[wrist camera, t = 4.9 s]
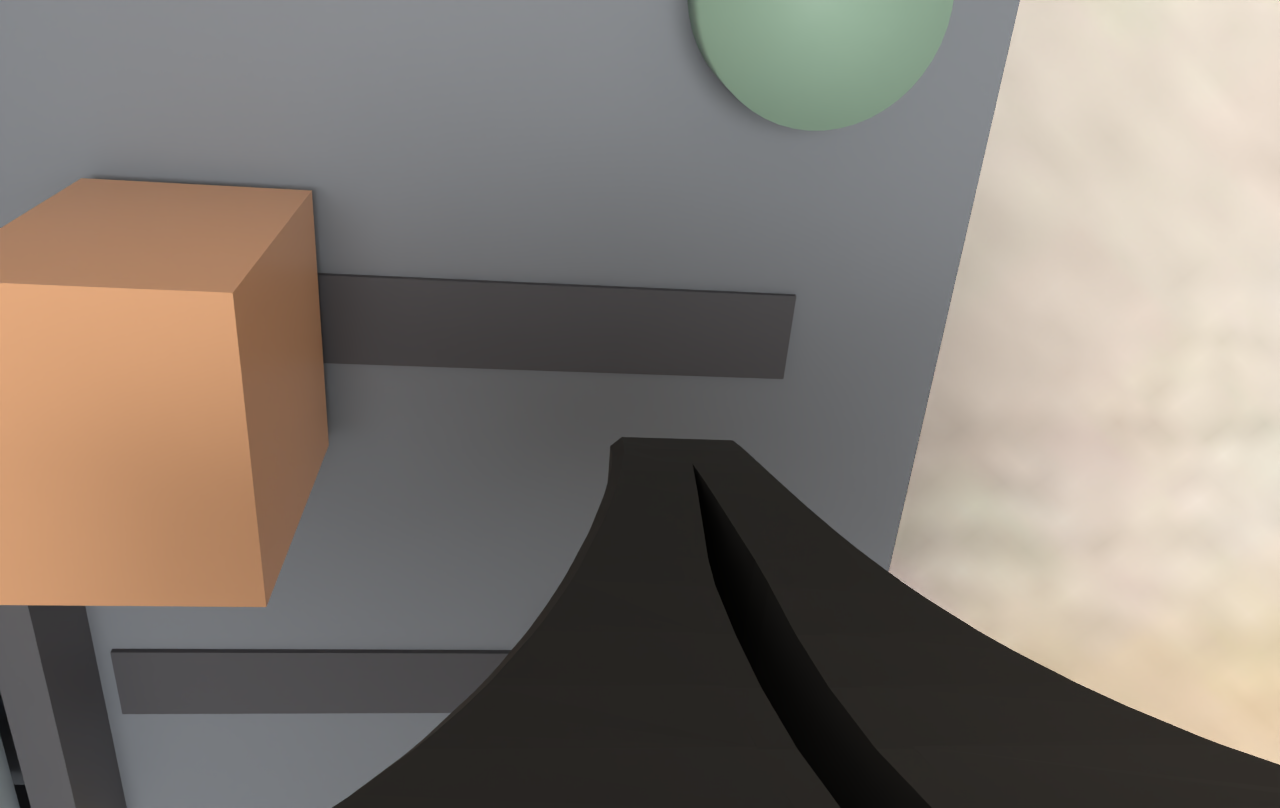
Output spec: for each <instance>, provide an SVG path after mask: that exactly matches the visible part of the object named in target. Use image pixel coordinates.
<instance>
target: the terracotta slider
mask: <svg viewBox="0 0 1280 808" xmlns="http://www.w3.org/2000/svg"><path fill="white" fill-rule="evenodd" d="M328 446H329V440H328V425H327V410H326V395H325V380H324V365H323V350H322V335H321V320H320V305H319V290H318V275H317V260H316V245H315V230H314V215H313V200H312V190H293V189H275V188H256V187H237V186H219V185H200V184H181V183H163V182H144V181H125V180H107V179H88V178H81V179H79V180H78V181H76V182H74V183H73V184H71V185H70V186H68V187H66V188H65V189H63V190H61V191H60V192H58V193H57V194H55V195H53V196H52V197H50V198H49V199H47V200H45V201H44V202H42V203H40V204H39V205H37V206H36V207H34V208H32V209H31V210H29V211H27V212H26V213H24V214H23V215H21V216H19V217H18V218H16V219H15V220H13V221H11V222H10V223H8V224H6V225H5V226H3V227H2V228H0V605H63V606H186V607H267V604H268V602H269V599H270V596H271V594H272V591H273V589H274V586H275V583H276V581H277V578H278V576H279V573H280V570H281V568H282V565H283V563H284V560H285V557H286V555H287V552H288V550H289V547H290V544H291V542H292V539H293V537H294V534H295V531H296V529H297V526H298V524H299V521H300V519H301V516H302V513H303V511H304V508H305V506H306V503H307V500H308V498H309V495H310V493H311V490H312V487H313V485H314V482H315V480H316V477H317V474H318V472H319V469H320V467H321V464H322V461H323V459H324V456H325V454H326V451H327V448H328Z"/></svg>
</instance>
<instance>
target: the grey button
mask: <svg viewBox="0 0 1280 808" xmlns="http://www.w3.org/2000/svg"><path fill="white" fill-rule="evenodd" d="M0 808H20V806H19V802H18V799H17V795H16V791H15V788H14V784H13V780H12V777H11V773H10V769H9V765H8V762H7V758H6V754H5V751H4V747H3V743H2V740H1V736H0Z"/></svg>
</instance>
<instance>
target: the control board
mask: <svg viewBox="0 0 1280 808" xmlns="http://www.w3.org/2000/svg"><path fill="white" fill-rule="evenodd" d="M1019 2H1020V0H0V228H2V227H3V226H5V225H6V224H8V223H10V222H11V221H13V220H15V219H16V218H18V217H19V216H21V215H23V214H24V213H26V212H27V211H29V210H31V209H32V208H34V207H36V206H37V205H39V204H40V203H42V202H44V201H45V200H47V199H49V198H50V197H52V196H53V195H55V194H57V193H58V192H60V191H61V190H63V189H65V188H66V187H68V186H70V185H71V184H73V183H74V182H76V181H78V180H79V179H81V178H88V179H107V180H125V181H144V182H163V183H181V184H200V185H219V186H237V187H256V188H275V189H293V190H312V200H313V215H314V230H315V245H316V260H317V275H318V290H319V305H320V320H321V335H322V350H323V365H324V380H325V395H326V410H327V425H328V440H329V446H328V448H327V451H326V454H325V456H324V459H323V461H322V464H321V467H320V469H319V472H318V474H317V477H316V480H315V482H314V485H313V487H312V490H311V493H310V495H309V498H308V500H307V503H306V506H305V508H304V511H303V513H302V516H301V519H300V521H299V524H298V526H297V529H296V531H295V534H294V537H293V539H292V542H291V544H290V547H289V550H288V552H287V555H286V557H285V560H284V563H283V565H282V568H281V570H280V573H279V576H278V578H277V581H276V583H275V586H274V589H273V591H272V594H271V596H270V599H269V602H268V604H267V607H186V606H63V605H0V736H1V740H2V743H3V747H4V751H5V754H6V758H7V762H8V765H9V769H10V773H11V777H12V780H13V784H14V788H15V791H16V795H17V799H18V802H19V806H20V808H332V807H334V806H335V805H337V804H338V803H340V802H341V801H343V800H344V799H346V798H347V797H349V796H350V795H351V794H353V793H354V792H355V791H357V790H358V789H359V788H361V787H362V786H363V785H365V784H366V783H367V782H369V781H370V780H371V779H373V778H374V777H375V776H377V775H378V774H379V773H381V772H382V771H383V770H385V769H386V768H387V767H389V766H390V765H391V764H393V763H394V762H395V761H397V760H398V759H399V758H401V757H402V756H403V755H405V754H406V753H407V752H408V751H410V750H411V749H412V748H413V747H414V746H416V745H417V744H418V743H419V742H420V741H422V740H423V739H424V738H425V737H426V736H427V735H428V734H429V733H430V732H431V731H432V730H433V729H435V728H436V727H437V726H438V725H439V724H440V723H441V722H442V721H443V720H444V719H445V718H446V717H447V716H448V715H450V714H451V713H452V712H453V711H454V710H455V709H456V708H457V707H458V706H459V705H460V704H461V703H462V702H463V701H465V700H466V699H467V698H468V697H469V696H470V695H471V694H472V693H473V692H474V691H475V690H476V689H477V688H478V687H479V686H480V685H481V684H482V683H483V682H484V681H485V680H486V679H487V678H488V677H489V676H490V674H491V673H492V672H493V671H494V670H495V669H496V668H497V667H498V666H499V665H500V663H501V662H502V661H503V660H504V659H505V657H506V656H507V655H508V654H509V653H510V651H511V650H512V649H513V648H514V647H515V645H516V644H517V643H518V642H519V641H520V639H521V638H522V637H523V636H524V635H525V633H526V632H527V631H528V630H529V628H530V627H531V626H532V624H533V623H534V621H535V620H536V619H537V617H538V616H539V615H540V613H541V612H542V610H543V609H544V608H545V606H546V605H547V603H548V602H549V600H550V599H551V597H552V596H553V594H554V593H555V591H556V590H557V588H558V587H559V585H560V583H561V582H562V580H563V579H564V577H565V575H566V574H567V572H568V570H569V568H570V566H571V564H572V563H573V561H574V559H575V557H576V555H577V553H578V551H579V550H580V548H581V546H582V544H583V542H584V540H585V538H586V537H587V535H588V532H589V530H590V528H591V526H592V523H593V521H594V518H595V516H596V513H597V511H598V509H599V506H600V504H601V501H602V499H603V496H604V493H605V490H606V486H607V483H608V470H609V456H610V446H611V445H612V444H614V443H615V442H616V441H617V440H618V439H620V438H621V437H640V438H674V439H709V440H733V441H734V442H736V443H737V444H738V445H739V446H741V447H742V448H743V449H744V450H745V451H746V452H748V453H749V454H750V455H751V456H752V457H753V458H754V459H755V460H756V461H757V462H759V463H760V464H761V465H762V466H763V467H764V468H765V469H766V470H767V471H768V472H769V473H770V474H772V475H773V476H774V477H775V478H776V479H777V480H778V481H779V482H780V483H781V484H783V485H784V486H785V487H786V488H787V489H788V490H789V491H790V492H791V493H792V494H794V495H795V496H796V497H797V498H798V499H799V500H800V501H801V502H802V503H804V504H805V505H806V506H807V507H808V508H809V509H810V510H812V511H813V512H814V513H815V514H816V515H817V516H819V517H820V518H821V519H822V520H823V521H824V522H826V523H827V524H828V525H829V526H830V527H831V528H833V529H834V530H835V531H836V532H837V533H839V534H840V535H841V536H842V537H844V538H845V539H846V540H847V541H849V542H850V543H851V544H852V545H854V546H855V547H856V548H857V549H859V550H860V551H861V552H863V553H864V554H865V555H867V556H868V557H869V558H871V559H872V560H873V561H875V562H876V563H877V564H879V565H880V566H881V567H883V568H884V569H885V570H887V571H889V567H890V562H891V558H892V554H893V549H894V545H895V541H896V536H897V532H898V528H899V523H900V519H901V515H902V510H903V506H904V502H905V497H906V493H907V489H908V484H909V480H910V476H911V471H912V467H913V462H914V458H915V454H916V449H917V445H918V441H919V436H920V432H921V428H922V423H923V419H924V415H925V410H926V406H927V402H928V397H929V393H930V389H931V384H932V380H933V375H934V371H935V367H936V362H937V358H938V354H939V349H940V345H941V341H942V336H943V332H944V328H945V323H946V319H947V315H948V310H949V306H950V302H951V297H952V293H953V289H954V284H955V280H956V275H957V271H958V267H959V262H960V258H961V254H962V249H963V245H964V241H965V236H966V232H967V228H968V223H969V219H970V215H971V210H972V206H973V202H974V197H975V193H976V189H977V184H978V180H979V175H980V171H981V167H982V162H983V158H984V154H985V149H986V145H987V141H988V136H989V132H990V128H991V123H992V119H993V115H994V110H995V106H996V102H997V97H998V93H999V89H1000V84H1001V80H1002V75H1003V71H1004V67H1005V62H1006V58H1007V54H1008V49H1009V45H1010V41H1011V36H1012V32H1013V28H1014V23H1015V19H1016V15H1017V10H1018V6H1019Z"/></svg>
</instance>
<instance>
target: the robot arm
mask: <svg viewBox="0 0 1280 808" xmlns="http://www.w3.org/2000/svg"><path fill="white" fill-rule="evenodd" d="M332 808H1280V765H1279V764H1276V763H1273V762H1270V761H1267V760H1264V759H1261V758H1258V757H1255V756H1252V755H1250V754H1247V753H1244V752H1241V751H1238V750H1235V749H1232V748H1229V747H1226V746H1223V745H1221V744H1218V743H1215V742H1213V741H1210V740H1208V739H1205V738H1202V737H1200V736H1197V735H1195V734H1193V733H1190V732H1188V731H1185V730H1183V729H1181V728H1178V727H1176V726H1173V725H1171V724H1169V723H1166V722H1164V721H1161V720H1159V719H1156V718H1154V717H1152V716H1149V715H1147V714H1144V713H1142V712H1140V711H1137V710H1135V709H1132V708H1130V707H1128V706H1125V705H1123V704H1121V703H1119V702H1117V701H1114V700H1112V699H1110V698H1108V697H1106V696H1103V695H1101V694H1099V693H1097V692H1095V691H1093V690H1090V689H1088V688H1086V687H1084V686H1082V685H1080V684H1077V683H1075V682H1073V681H1071V680H1069V679H1068V678H1066V677H1064V676H1062V675H1060V674H1058V673H1056V672H1054V671H1052V670H1050V669H1048V668H1046V667H1044V666H1042V665H1040V664H1038V663H1036V662H1034V661H1032V660H1030V659H1028V658H1027V657H1025V656H1023V655H1021V654H1019V653H1017V652H1015V651H1013V650H1011V649H1009V648H1008V647H1006V646H1004V645H1002V644H1000V643H999V642H997V641H995V640H993V639H991V638H990V637H988V636H986V635H984V634H983V633H981V632H979V631H977V630H976V629H974V628H973V627H971V626H969V625H968V624H966V623H965V622H963V621H961V620H960V619H958V618H957V617H955V616H953V615H952V614H950V613H949V612H947V611H945V610H944V609H942V608H941V607H939V606H937V605H936V604H934V603H933V602H931V601H929V600H928V599H926V598H925V597H923V596H922V595H920V594H919V593H917V592H916V591H914V590H913V589H911V588H910V587H909V586H907V585H906V584H904V583H903V582H901V581H900V580H899V579H897V578H896V577H895V576H893V575H892V574H891V573H889V572H888V571H887V570H885V569H884V568H883V567H881V566H880V565H879V564H877V563H876V562H875V561H873V560H872V559H871V558H869V557H868V556H867V555H865V554H864V553H863V552H861V551H860V550H859V549H857V548H856V547H855V546H854V545H852V544H851V543H850V542H849V541H847V540H846V539H845V538H844V537H842V536H841V535H840V534H839V533H837V532H836V531H835V530H834V529H833V528H831V527H830V526H829V525H828V524H827V523H826V522H824V521H823V520H822V519H821V518H820V517H819V516H817V515H816V514H815V513H814V512H813V511H812V510H810V509H809V508H808V507H807V506H806V505H805V504H804V503H802V502H801V501H800V500H799V499H798V498H797V497H796V496H795V495H794V494H792V493H791V492H790V491H789V490H788V489H787V488H786V487H785V486H784V485H783V484H781V483H780V482H779V481H778V480H777V479H776V478H775V477H774V476H773V475H772V474H770V473H769V472H768V471H767V470H766V469H765V468H764V467H763V466H762V465H761V464H760V463H759V462H757V461H756V460H755V459H754V458H753V457H752V456H751V455H750V454H749V453H748V452H746V451H745V450H744V449H743V448H742V447H741V446H739V445H738V444H737V443H736V442H734V441H733V440H709V439H674V438H640V437H621V438H620V439H618V440H617V441H616V442H615V443H614V444H612V445H611V446H610V456H609V470H608V483H607V486H606V490H605V493H604V496H603V499H602V501H601V504H600V506H599V509H598V511H597V513H596V516H595V518H594V521H593V523H592V526H591V528H590V530H589V532H588V535H587V537H586V538H585V540H584V542H583V544H582V546H581V548H580V550H579V551H578V553H577V555H576V557H575V559H574V561H573V563H572V564H571V566H570V568H569V570H568V572H567V574H566V575H565V577H564V579H563V580H562V582H561V583H560V585H559V587H558V588H557V590H556V591H555V593H554V594H553V596H552V597H551V599H550V600H549V602H548V603H547V605H546V606H545V608H544V609H543V610H542V612H541V613H540V615H539V616H538V617H537V619H536V620H535V621H534V623H533V624H532V626H531V627H530V628H529V630H528V631H527V632H526V633H525V635H524V636H523V637H522V638H521V639H520V641H519V642H518V643H517V644H516V645H515V647H514V648H513V649H512V650H511V651H510V653H509V654H508V655H507V656H506V657H505V659H504V660H503V661H502V662H501V663H500V665H499V666H498V667H497V668H496V669H495V670H494V671H493V672H492V673H491V674H490V676H489V677H488V678H487V679H486V680H485V681H484V682H483V683H482V684H481V685H480V686H479V687H478V688H477V689H476V690H475V691H474V692H473V693H472V694H471V695H470V696H469V697H468V698H467V699H466V700H465V701H463V702H462V703H461V704H460V705H459V706H458V707H457V708H456V709H455V710H454V711H453V712H452V713H451V714H450V715H448V716H447V717H446V718H445V719H444V720H443V721H442V722H441V723H440V724H439V725H438V726H437V727H436V728H435V729H433V730H432V731H431V732H430V733H429V734H428V735H427V736H426V737H425V738H424V739H423V740H422V741H420V742H419V743H418V744H417V745H416V746H414V747H413V748H412V749H411V750H410V751H408V752H407V753H406V754H405V755H403V756H402V757H401V758H399V759H398V760H397V761H395V762H394V763H393V764H391V765H390V766H389V767H387V768H386V769H385V770H383V771H382V772H381V773H379V774H378V775H377V776H375V777H374V778H373V779H371V780H370V781H369V782H367V783H366V784H365V785H363V786H362V787H361V788H359V789H358V790H357V791H355V792H354V793H353V794H351V795H350V796H349V797H347V798H346V799H344V800H343V801H341V802H340V803H338V804H337V805H335V806H334V807H332Z"/></svg>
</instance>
